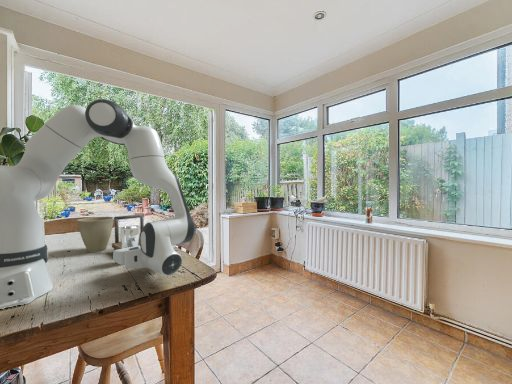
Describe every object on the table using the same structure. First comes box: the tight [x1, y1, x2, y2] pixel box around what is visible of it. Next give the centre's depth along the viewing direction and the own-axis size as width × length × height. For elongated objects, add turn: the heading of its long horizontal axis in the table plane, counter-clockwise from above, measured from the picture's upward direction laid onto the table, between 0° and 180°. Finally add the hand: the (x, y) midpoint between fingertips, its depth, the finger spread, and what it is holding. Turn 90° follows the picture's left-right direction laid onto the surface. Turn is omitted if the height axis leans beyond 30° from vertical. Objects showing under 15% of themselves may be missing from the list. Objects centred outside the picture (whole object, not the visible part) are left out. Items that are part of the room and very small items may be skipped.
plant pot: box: [76, 216, 115, 253], centre depth 115 cm, size 15×15×16 cm
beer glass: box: [120, 225, 140, 248], centre depth 99 cm, size 7×7×15 cm
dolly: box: [111, 213, 145, 251], centre depth 113 cm, size 16×13×17 cm
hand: (136, 246), depth 94 cm, fingers open, 8 cm apart
